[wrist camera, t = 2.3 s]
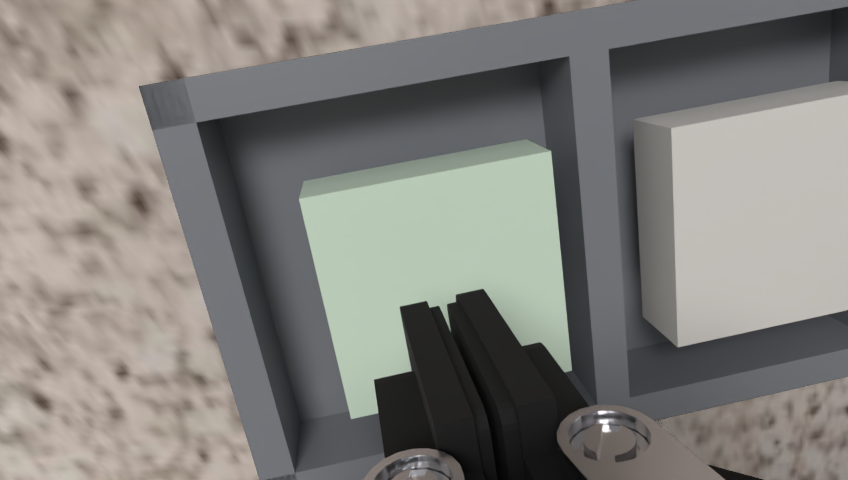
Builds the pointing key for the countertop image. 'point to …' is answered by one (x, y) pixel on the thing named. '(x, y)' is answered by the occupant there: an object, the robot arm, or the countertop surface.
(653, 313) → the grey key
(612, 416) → the robot arm
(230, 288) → the grey compartment tray
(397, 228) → the sage key
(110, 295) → the countertop surface
